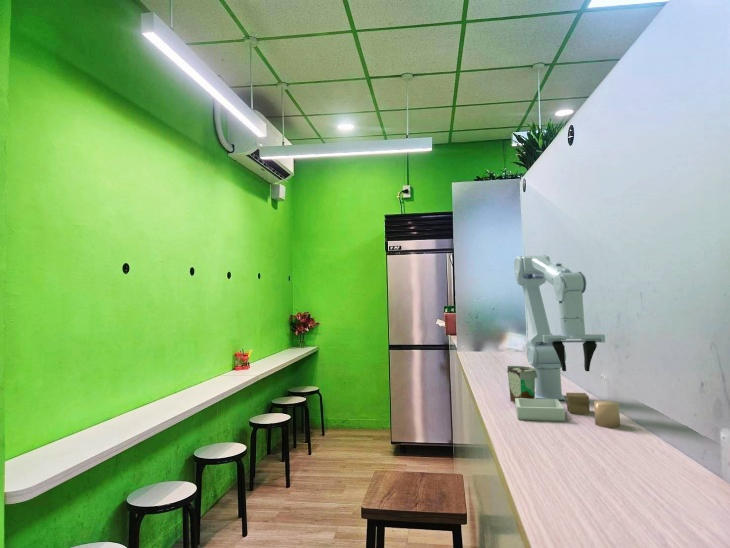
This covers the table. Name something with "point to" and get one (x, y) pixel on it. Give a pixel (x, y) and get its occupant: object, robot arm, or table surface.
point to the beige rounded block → (607, 414)
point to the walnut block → (578, 403)
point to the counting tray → (539, 409)
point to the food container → (521, 382)
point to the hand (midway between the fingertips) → (575, 370)
